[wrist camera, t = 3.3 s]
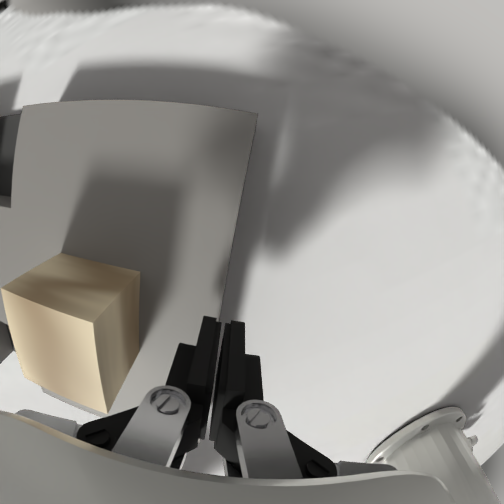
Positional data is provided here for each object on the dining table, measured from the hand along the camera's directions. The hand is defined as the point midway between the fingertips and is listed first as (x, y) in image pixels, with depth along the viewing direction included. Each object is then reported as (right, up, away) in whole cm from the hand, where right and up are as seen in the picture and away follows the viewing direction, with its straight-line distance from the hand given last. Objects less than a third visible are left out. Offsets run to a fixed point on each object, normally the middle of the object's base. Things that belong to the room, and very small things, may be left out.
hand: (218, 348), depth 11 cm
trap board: (-14, +4, +3) cm, 15 cm away
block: (-6, +1, +1) cm, 6 cm away
